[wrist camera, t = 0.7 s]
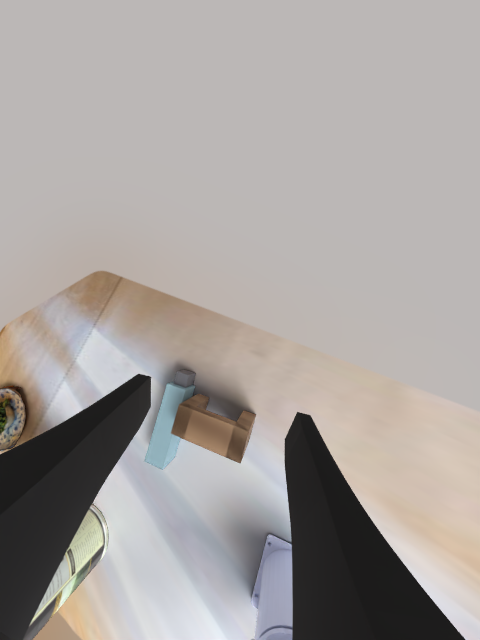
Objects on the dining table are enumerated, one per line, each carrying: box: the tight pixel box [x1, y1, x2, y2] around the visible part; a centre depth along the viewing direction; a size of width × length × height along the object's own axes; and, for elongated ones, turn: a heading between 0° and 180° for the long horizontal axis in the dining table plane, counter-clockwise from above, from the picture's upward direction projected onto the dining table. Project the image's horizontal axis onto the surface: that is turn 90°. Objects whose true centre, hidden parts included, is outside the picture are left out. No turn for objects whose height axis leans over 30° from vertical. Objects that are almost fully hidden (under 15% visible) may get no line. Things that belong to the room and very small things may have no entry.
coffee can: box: [23, 505, 108, 640], centre depth 30 cm, size 10×10×14 cm
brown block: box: [171, 394, 256, 463], centre depth 31 cm, size 4×10×7 cm, turn 74°
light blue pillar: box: [145, 369, 196, 470], centre depth 34 cm, size 14×3×4 cm, turn 164°
